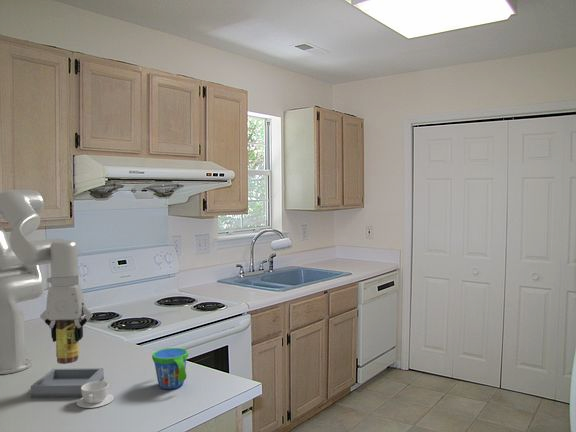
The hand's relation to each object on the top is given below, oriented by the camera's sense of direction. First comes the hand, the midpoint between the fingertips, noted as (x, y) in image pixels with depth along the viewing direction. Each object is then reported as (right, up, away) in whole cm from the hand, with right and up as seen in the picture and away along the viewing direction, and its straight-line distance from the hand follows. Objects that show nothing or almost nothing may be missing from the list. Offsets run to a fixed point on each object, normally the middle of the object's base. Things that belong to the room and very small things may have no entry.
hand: (67, 339), depth 152 cm
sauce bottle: (0, -7, 0) cm, 7 cm away
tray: (0, -15, +1) cm, 15 cm away
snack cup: (+31, -15, +2) cm, 34 cm away
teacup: (+12, -16, -9) cm, 22 cm away
